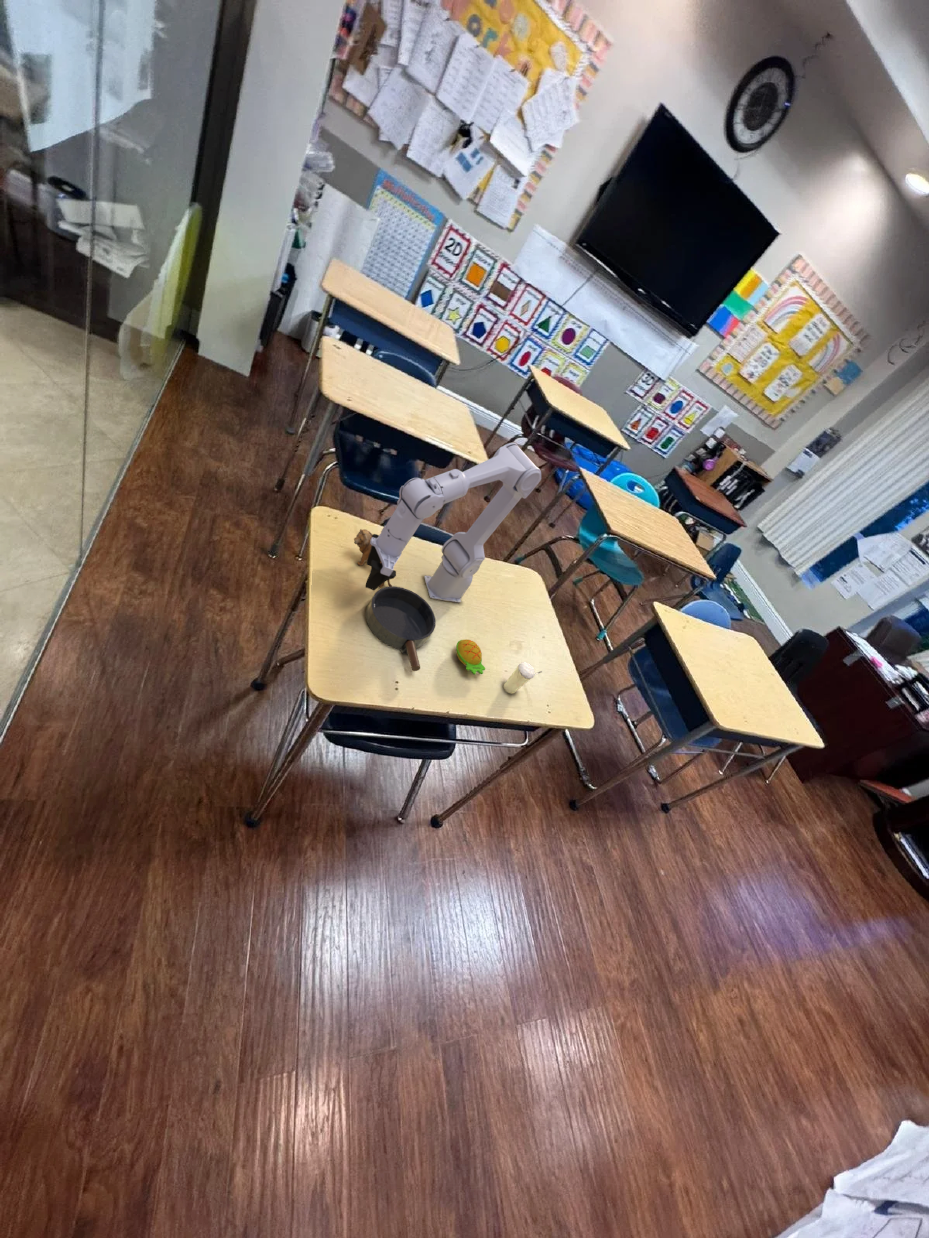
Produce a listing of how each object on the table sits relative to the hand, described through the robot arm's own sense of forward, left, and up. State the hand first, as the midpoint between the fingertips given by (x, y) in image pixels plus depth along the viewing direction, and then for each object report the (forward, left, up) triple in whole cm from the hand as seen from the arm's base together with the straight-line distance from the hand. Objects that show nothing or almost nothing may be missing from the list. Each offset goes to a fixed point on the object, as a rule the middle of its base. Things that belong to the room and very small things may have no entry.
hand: (370, 576), depth 114 cm
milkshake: (-37, +21, -10) cm, 44 cm away
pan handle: (-10, +16, -10) cm, 21 cm away
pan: (-10, +4, -10) cm, 15 cm away
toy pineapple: (-26, +14, -10) cm, 32 cm away
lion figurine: (-5, -13, -10) cm, 17 cm away
